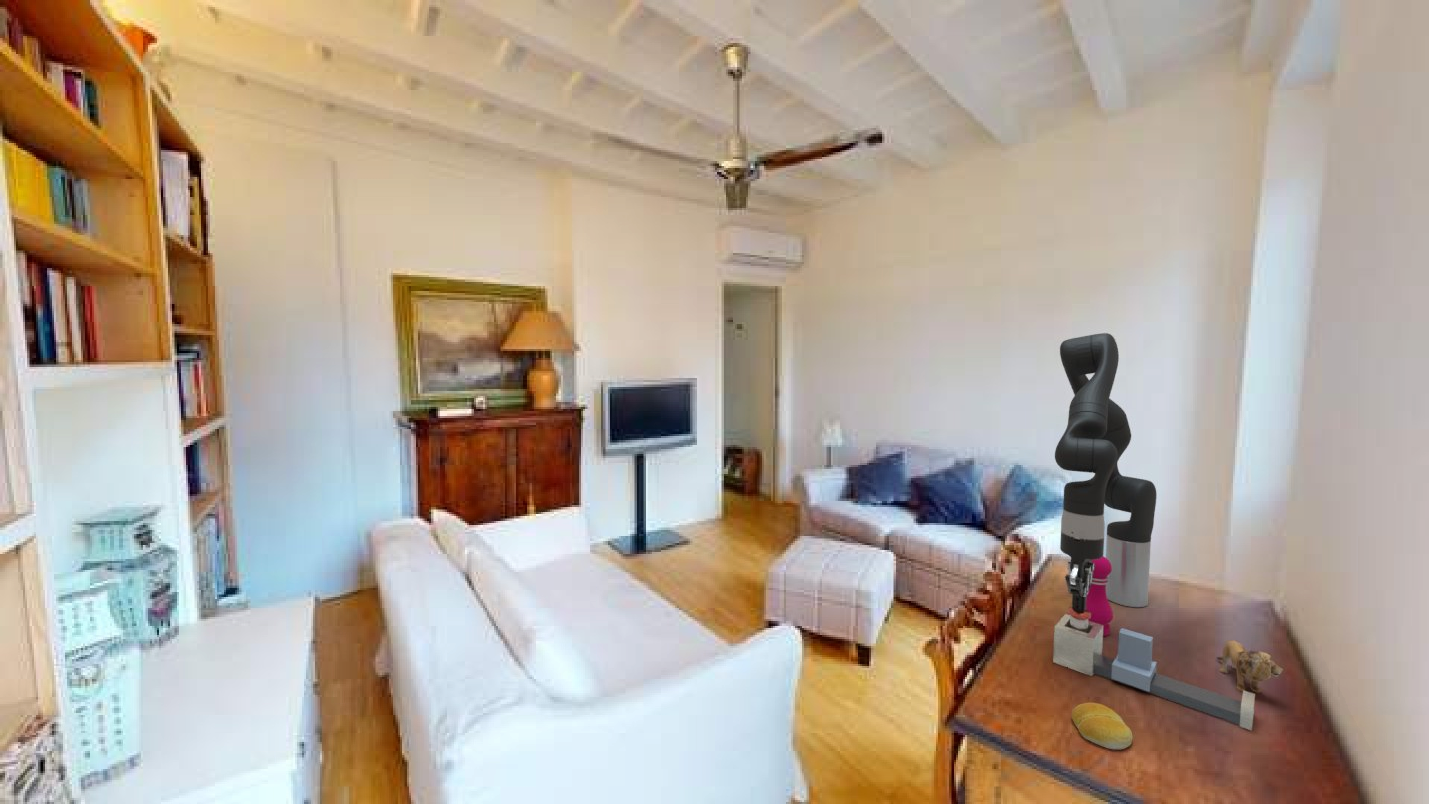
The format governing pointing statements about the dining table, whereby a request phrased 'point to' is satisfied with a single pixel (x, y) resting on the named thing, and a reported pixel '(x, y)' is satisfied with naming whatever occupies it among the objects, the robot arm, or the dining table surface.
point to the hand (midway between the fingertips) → (1078, 610)
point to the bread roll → (1102, 726)
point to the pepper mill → (1100, 595)
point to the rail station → (1088, 659)
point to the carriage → (1134, 660)
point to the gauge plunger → (1079, 620)
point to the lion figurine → (1248, 665)
